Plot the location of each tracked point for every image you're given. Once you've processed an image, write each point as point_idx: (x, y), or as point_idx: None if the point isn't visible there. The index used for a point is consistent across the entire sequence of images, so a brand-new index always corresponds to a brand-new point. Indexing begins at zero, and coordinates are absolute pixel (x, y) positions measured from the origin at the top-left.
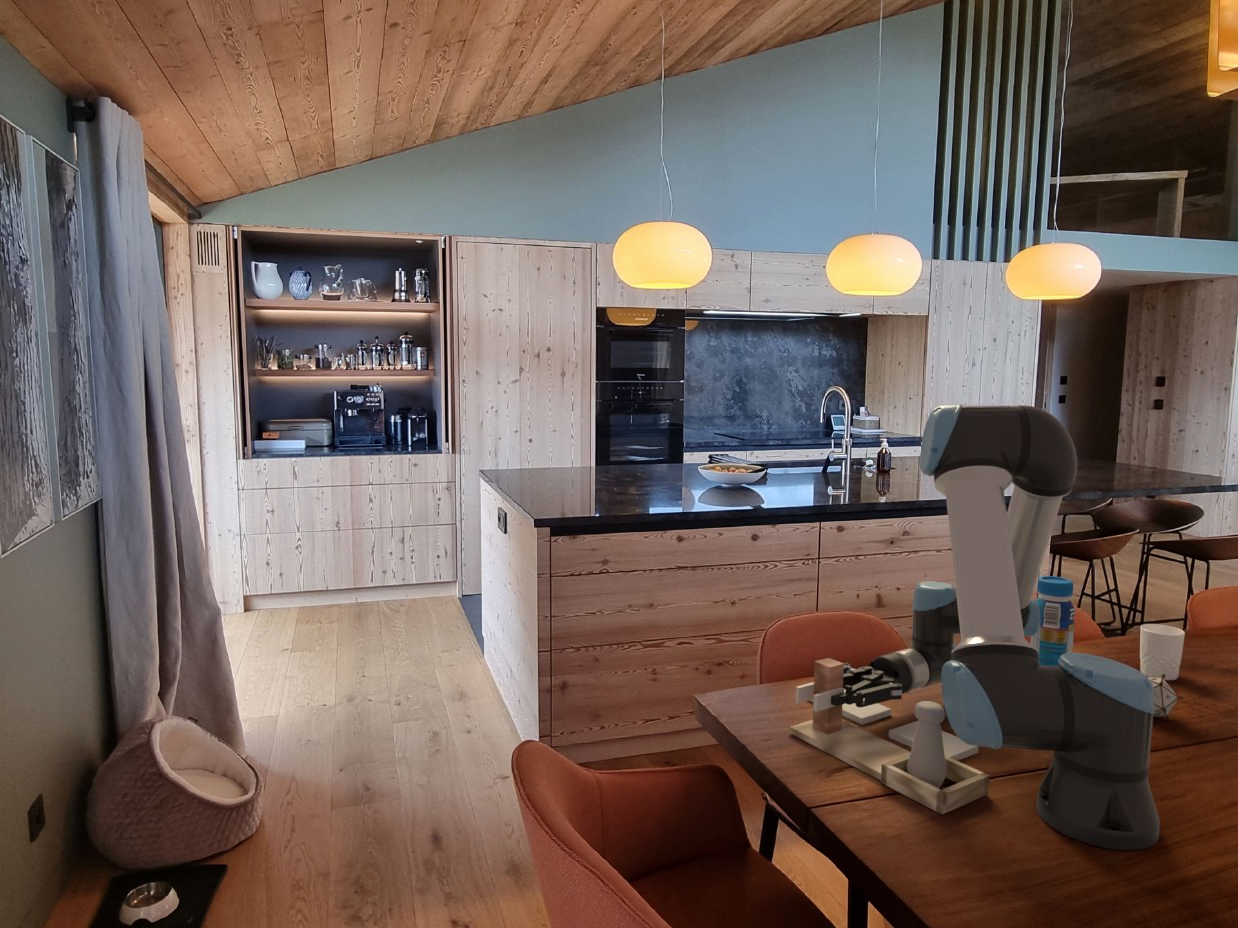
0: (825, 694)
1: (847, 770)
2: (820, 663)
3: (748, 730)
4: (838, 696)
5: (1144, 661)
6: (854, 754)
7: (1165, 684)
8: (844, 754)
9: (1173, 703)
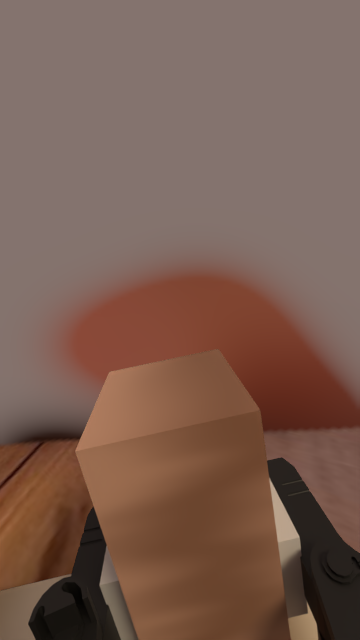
0: None
1: (32, 574)
2: (177, 358)
3: (314, 456)
4: (96, 526)
5: None
6: (20, 618)
7: None
8: (50, 580)
9: None
